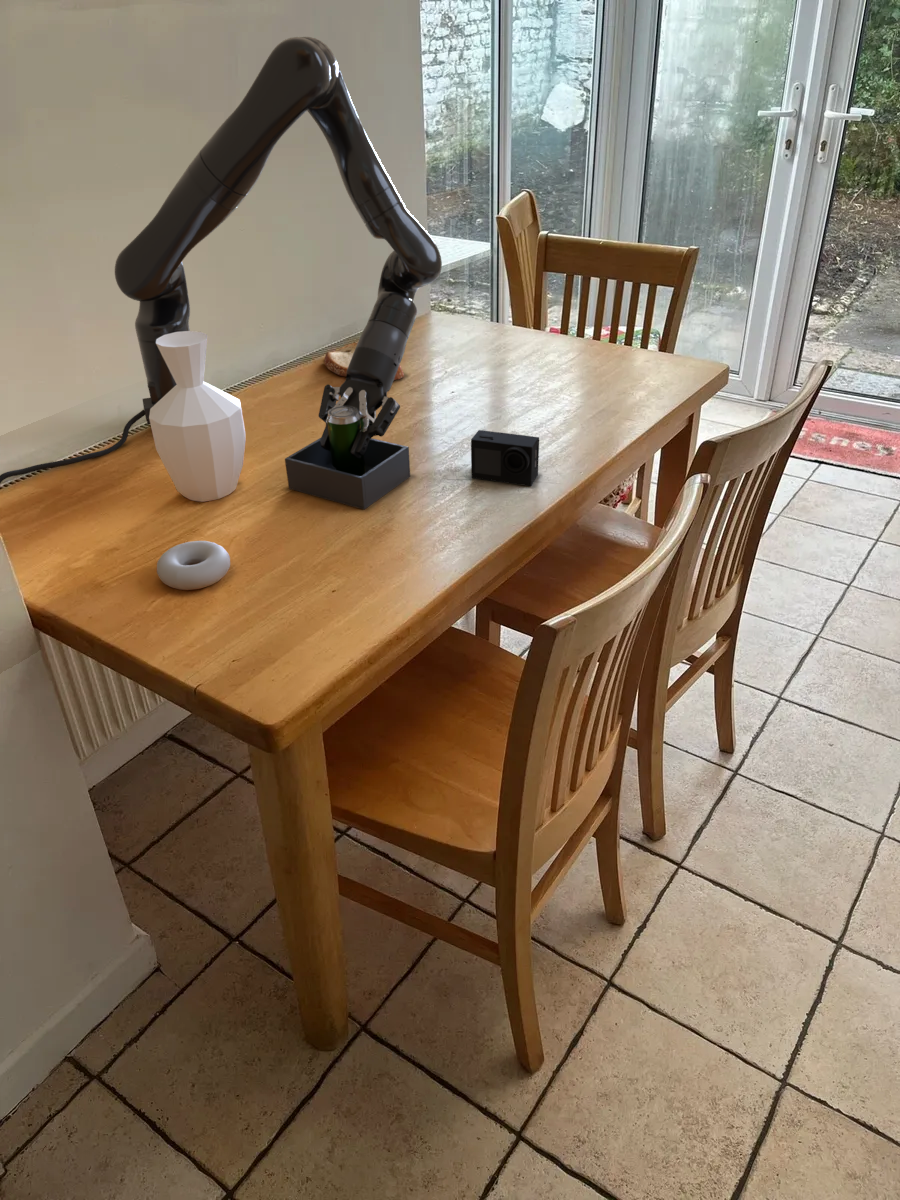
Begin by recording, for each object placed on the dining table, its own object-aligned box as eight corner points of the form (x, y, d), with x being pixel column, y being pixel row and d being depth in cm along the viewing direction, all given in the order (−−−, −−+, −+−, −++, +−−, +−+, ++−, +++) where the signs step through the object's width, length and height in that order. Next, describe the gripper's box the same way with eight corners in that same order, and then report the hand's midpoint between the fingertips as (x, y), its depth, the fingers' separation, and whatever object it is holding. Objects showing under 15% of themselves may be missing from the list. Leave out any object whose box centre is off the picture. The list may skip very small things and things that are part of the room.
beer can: (343, 490, 144) (335, 421, 137) (327, 478, 148) (320, 410, 141) (372, 481, 146) (366, 412, 140) (356, 470, 150) (350, 402, 144)
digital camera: (468, 481, 147) (467, 442, 143) (478, 467, 151) (478, 429, 147) (529, 490, 144) (530, 450, 140) (538, 475, 148) (539, 436, 144)
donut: (236, 555, 129) (165, 558, 129) (232, 534, 127) (161, 537, 127) (227, 593, 121) (152, 596, 120) (223, 571, 119) (147, 575, 118)
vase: (178, 518, 139) (143, 361, 125) (157, 482, 149) (123, 334, 135) (266, 497, 144) (242, 343, 130) (240, 464, 154) (216, 319, 140)
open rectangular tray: (364, 509, 139) (361, 478, 136) (288, 488, 146) (284, 458, 143) (410, 476, 149) (408, 446, 146) (337, 458, 155) (334, 429, 152)
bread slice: (403, 381, 186) (402, 364, 184) (317, 383, 186) (315, 366, 184) (407, 353, 201) (406, 336, 198) (328, 355, 201) (326, 338, 199)
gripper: (330, 338, 144) (292, 434, 142) (404, 352, 138) (365, 452, 136) (352, 361, 151) (316, 452, 149) (424, 374, 145) (387, 470, 143)
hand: (340, 452), depth 143 cm, fingers closed on beer can, 5 cm apart
